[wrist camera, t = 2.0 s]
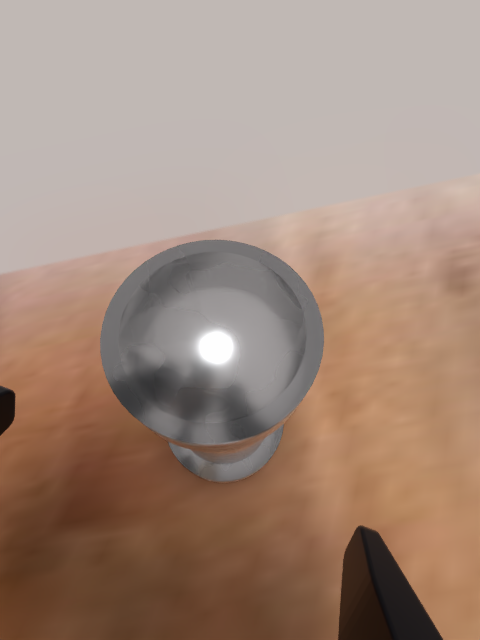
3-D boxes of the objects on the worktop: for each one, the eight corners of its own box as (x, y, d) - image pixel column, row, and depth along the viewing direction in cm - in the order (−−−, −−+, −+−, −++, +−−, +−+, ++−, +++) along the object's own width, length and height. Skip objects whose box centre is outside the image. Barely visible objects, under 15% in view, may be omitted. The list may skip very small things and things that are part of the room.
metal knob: (297, 456, 18) (385, 397, 8) (190, 502, 17) (118, 508, 7) (254, 358, 21) (275, 207, 10) (158, 393, 20) (67, 268, 9)
